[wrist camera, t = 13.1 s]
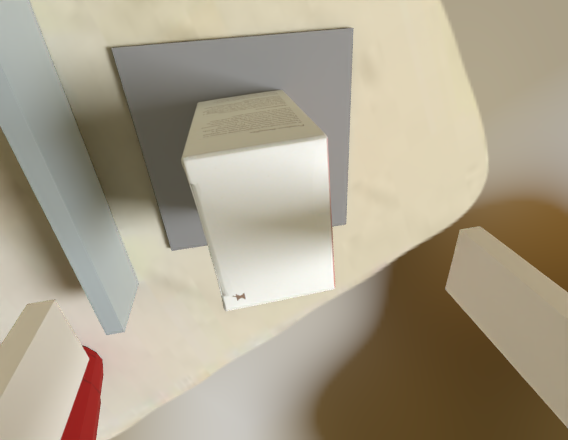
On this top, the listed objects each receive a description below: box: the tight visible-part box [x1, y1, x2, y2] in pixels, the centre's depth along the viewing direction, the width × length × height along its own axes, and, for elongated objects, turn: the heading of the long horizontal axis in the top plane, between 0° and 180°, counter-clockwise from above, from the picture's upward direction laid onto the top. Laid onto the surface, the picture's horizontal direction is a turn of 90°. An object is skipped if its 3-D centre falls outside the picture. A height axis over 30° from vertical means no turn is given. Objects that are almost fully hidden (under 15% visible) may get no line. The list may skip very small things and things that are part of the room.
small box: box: [181, 90, 335, 311], centre depth 19 cm, size 8×6×10 cm
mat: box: [111, 28, 353, 251], centre depth 23 cm, size 14×14×1 cm
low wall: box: [0, 0, 139, 335], centre depth 20 cm, size 1×20×5 cm, turn 4°
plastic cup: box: [61, 346, 103, 440], centre depth 26 cm, size 11×11×12 cm
